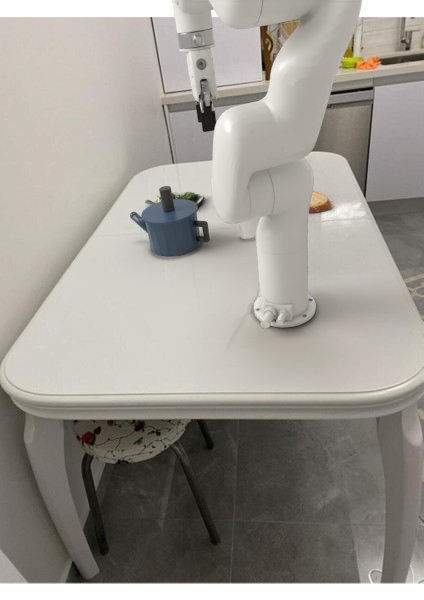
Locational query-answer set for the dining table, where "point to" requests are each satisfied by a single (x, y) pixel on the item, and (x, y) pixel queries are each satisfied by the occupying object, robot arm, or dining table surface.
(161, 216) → the teapot lid
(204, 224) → the teapot spout and handle
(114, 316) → the dining table surface
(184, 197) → the salad plate
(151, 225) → the teapot
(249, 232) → the eye dropper bottle
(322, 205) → the slice of bread
